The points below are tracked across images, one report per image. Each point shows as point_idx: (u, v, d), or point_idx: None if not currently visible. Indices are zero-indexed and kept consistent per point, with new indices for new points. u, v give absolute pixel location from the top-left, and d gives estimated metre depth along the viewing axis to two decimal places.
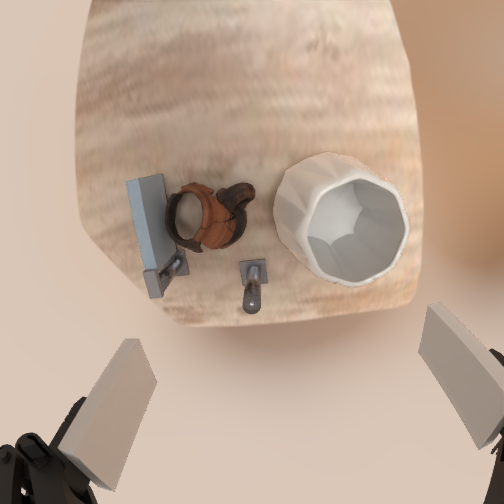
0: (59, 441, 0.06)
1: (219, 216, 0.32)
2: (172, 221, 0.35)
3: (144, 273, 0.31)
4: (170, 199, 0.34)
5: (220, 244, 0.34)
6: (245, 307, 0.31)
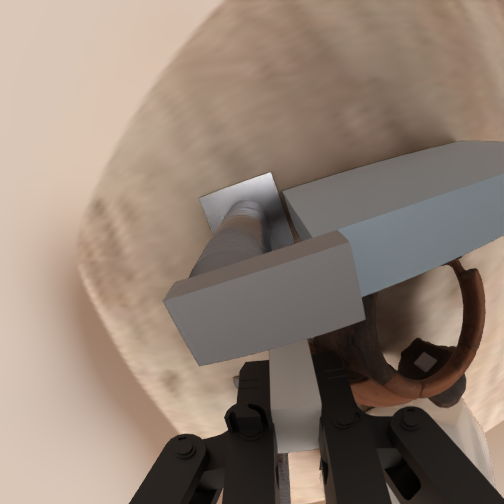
0: None
1: None
2: None
3: (343, 255, 0.05)
4: None
5: None
6: None
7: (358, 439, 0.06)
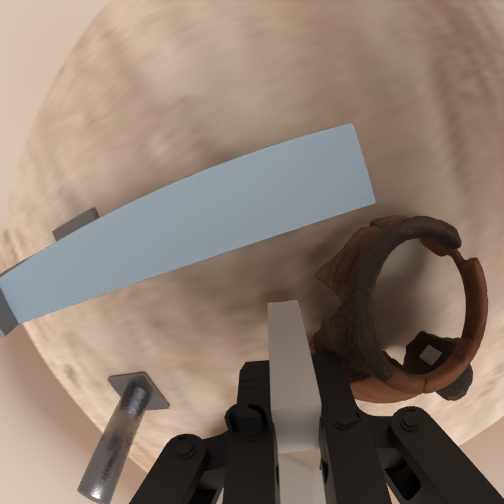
0: None
1: None
2: None
3: None
4: (448, 230, 0.10)
5: (355, 397, 0.11)
6: (83, 492, 0.09)
7: (358, 439, 0.06)
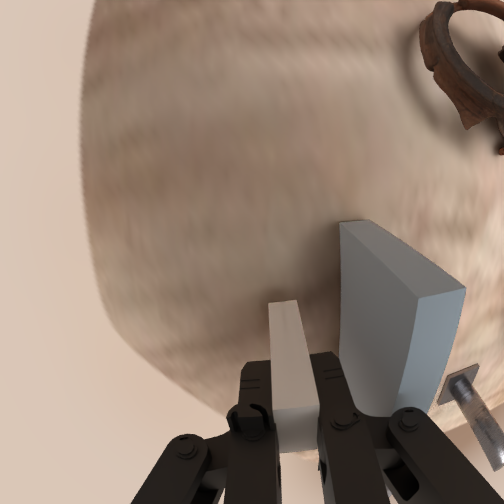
0: None
1: None
2: None
3: None
4: (441, 9, 0.06)
5: None
6: (498, 467, 0.08)
7: (356, 439, 0.06)
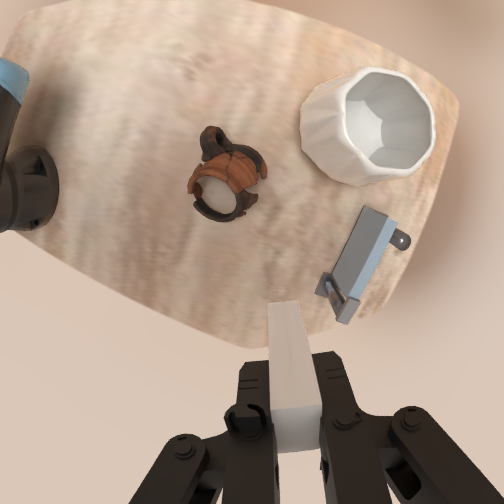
0: None
1: (223, 162, 0.31)
2: (219, 214, 0.35)
3: (350, 300, 0.32)
4: (197, 208, 0.35)
5: (253, 172, 0.32)
6: (401, 248, 0.29)
7: (358, 439, 0.06)
